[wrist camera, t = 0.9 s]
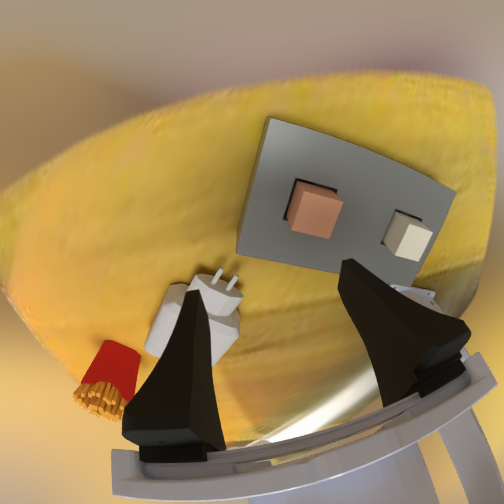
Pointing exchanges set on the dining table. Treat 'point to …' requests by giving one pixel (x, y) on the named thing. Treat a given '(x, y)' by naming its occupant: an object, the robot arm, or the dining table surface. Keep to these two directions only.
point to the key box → (353, 208)
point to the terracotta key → (313, 210)
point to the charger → (217, 306)
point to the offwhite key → (406, 236)
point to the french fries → (109, 381)
